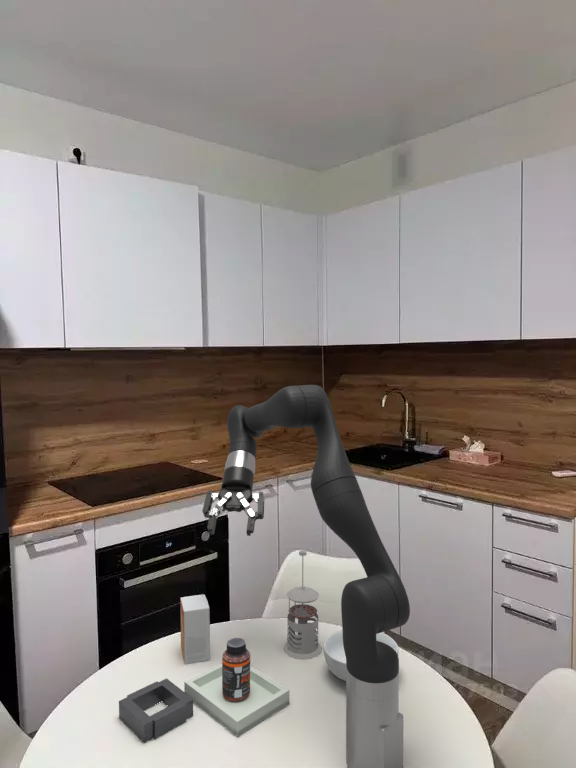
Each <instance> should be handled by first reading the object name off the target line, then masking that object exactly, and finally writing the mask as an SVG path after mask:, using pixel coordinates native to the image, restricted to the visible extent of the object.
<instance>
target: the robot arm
mask: <svg viewBox="0 0 576 768" xmlns="http://www.w3.org/2000/svg"><path fill="white" fill-rule="evenodd" d="M331 405H332V404H331V402H330V399H329V397H328V394H327V393H326V391H325V389H323V388H322V386H320V385H318V384H303V385H300V384H299V385H288V386H285V387H282V388H281V389H279V390H278V391H277V392H275V393H274V394H273V395H272V396H270V397H269V398H268V399H267V400H266V401H263V402H260V403H259V404H254V405H252V406H251V407H249V408H248V407H246V406H245V405H241V404H237V405H235V406H233V407H232V408H231V409H230V411H229V413H228V416H227V421H226V423H227V431H228V432H227V433H228V439H229V448H228V455H227V459H226V461H225V466H224V469H223V470H224V471H223V476H222V480H221V481H222V482H221V488H220V491H219V492H218V493H216V492H213V491H212V490H208V491H207V493H206V496H205V499H204V503H203V507H202V514H203V516H204V518H206V519H207V518H208V521H207V525H206V526H207V530H208V532H209V534H210V535H211V536H212V535H215V530H216V525H217V520H218V518H219V517H220V516H222V515H224V513H225V512H226V511H227V512H228V513H229V512H236V513H241V512H242V511H244V513H245V514H246V515H247V523H246V536H247V537H250V536H252V535H251V534H253V533H255V525H256V521H257V520H263V519H264V517H265V496H264V492H263V491H260V492H259V491H258V493H253V487H254V479H255V474H256V457H257V449H258V443H257V441H256V439H259V438H260V437H261V436H263V434H264V433H265V432H267V431H272V430H273V429H276V428H277V427H281V428H282V427H283V428H288V429H301V428H312V430H313V431H314V434H315V438H316V442H317V455H316V458H315V463H314V466H313V469H312V473H311V478H310V488H311V491H312V496H313V498H314V499H313V500H314V501H315V505H316V507H317V510H318V513H319V516H320V517H321V519H322V521H323V522H324V523H325V525H326V526H327V527H328V528H329V529H330V530H331V531H332V532H333V533H334V534H335V535H336V536H338V538H339V539H341V540H342V541H343V542H344V543H345V544H346V545H347V546H348V548H350V549H351V550H352V551H353V553H354V554H355V556H356V557H357V558H358V561H360V562H359V563H360V564H361V565H362V568H363V570H364V573H365V574H366V577H362V578H359V579H355V580H352V581H349V582H348V583H346V584H345V586H344V588H343V590H342V593H341V599H340V601H341V602H340V603H341V604H340V607H341V609H340V612H341V628H342V629H341V630H342V631H343V646H344V652H345V656H346V681H345V690H346V691H345V701H346V702H345V750H346V751H345V760H346V765H347V768H403V767H404V715H403V714H402V713H401V712H399V708H400V707H399V705H400V704H399V703H400V702H399V699H400V698H399V695H400V694H399V693H400V692H399V691H400V690H399V689H400V688H399V687H400V686H399V685H400V682H399V681H400V672H399V671H400V659H399V654H398V655H397V653H396V651H395V650H394V649H393V648H392V647H390V646H389V645H387V644H385V643H383V642H380V641H376V634H378V633H381V632H382V633H385V632H387V631H390V630H393V629H396V628H400V627H402V626H404V625H406V623H408V621H409V619H410V614H411V606H410V601H409V598H408V597H409V596H408V594H407V591H406V589H405V585H404V584H403V582H402V579H401V577H400V575H399V573H398V571H397V568H396V567H395V565H394V563H393V562H392V559H391V557H390V555H389V553H388V551H387V549H386V548H385V545H384V543H383V541H382V539H381V537H380V535H379V533H378V530H377V528H376V525H375V523H374V520H373V519H372V516H371V513H370V510H369V509H368V505H367V503H366V500H365V497H364V495H363V492H362V490H361V487H360V485H359V482H358V479H357V477H356V474H355V472H354V471H353V470H354V469H353V468H352V465H351V463H350V461H349V458H348V456H347V453H346V450H345V448H344V445H343V442H342V438H341V436H340V432H339V429H338V427H337V426H338V425H337V423H336V419H335V415H334V412H333V408H332V406H331ZM217 499H218V500H219V501H218V502H217V503H216V504H215V505H214V507H213V508H212V506H213V504H214V503H215V502H216V500H217ZM253 501H255V503H256V504H257V511H254V510H253V509H252V507H251V506H250V504H251V503H252V502H253Z"/></svg>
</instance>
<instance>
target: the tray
mask: <svg viewBox="0 0 576 768" xmlns="http://www.w3.org/2000/svg"><path fill="white" fill-rule="evenodd" d="M183 682H184V685H183V687H184V690H183V692H185V693H186V694H187V695H189V696H190V697H191V698H192V699H193V704H195V706H197V707H199V708H200V709H202V711H204V712H205V713H206V714H207V715H209V716H210V717H211V718H212V719H214V720H215V721H216V722H217V723H219V724H220V725H221V726H223V727H224V728H225V729H226V730H228V731H229V732H230V733H232V735H234V736H235V737H236V738H238V737H240V736H242V735H243V734H244V733H246V732H247V731H250V730H251V729H253V728H254V727H255V726H257V725H258V724H261V723H262V722H263V721H265V720H267V719H268V718H270V717H272V716H273V715H274V714H276V713H278V712H280V710H283V709H284V708H286V707H287V706H289V705H290V689H288V688H287V687H286V686H283V684H280V683H279V682H277V681H275V680H274V679H272V678H271V677H269V676H268V675H266V674H264V673H263V672H262V671H259V670H258V669H256V668H255V667H253V666H251V665H250V694H249V696H248V697H247V698H246V699H244V700H242V701H237V702H235V701H229V700H227V699H225V698H224V697H223V694H222V662H221V663H220V664H217V665H215V666H212V667H210V668H209V669H206V670H205V671H203V672H200V673H199V674H196V675H195V676H193V677H191V678H189V679H187V680H184V681H183Z"/></svg>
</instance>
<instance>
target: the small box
mask: <svg viewBox="0 0 576 768" xmlns="http://www.w3.org/2000/svg"><path fill="white" fill-rule="evenodd" d="M179 599H180V604H179V605H180V648H181V653H182V658H183V663H184V665H190V664H196V662H197V663H203V662H207V661H211V621H210V619H211V617H210V612H211V611H210V605H209V602H208V599H207V597H206V595H205V594H198V595H197V594H195V595H189V596H183V597H180V598H179Z"/></svg>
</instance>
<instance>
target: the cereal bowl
mask: <svg viewBox="0 0 576 768" xmlns="http://www.w3.org/2000/svg"><path fill="white" fill-rule="evenodd" d="M376 641H380V642H383V643H385V644H387V645H389V646H390V647H392V648H393V649H394V650H395V651H396V653H397V655H398V656H399V646H398V643H397V642H396V641H395V639H393V638H392V636H390V635H388V634H386V633H385V632H381V633H378V634H376ZM323 655H324V660H325V663H326V666H327V668H328V669H329V670H330V672H331V673H332V674H333V675H335V677H337V678H338V679H340V680H343V681H345V682H346V656H345V652H344V646H343V631H342V629H341V630H338V631H336V632H333V633H332V634H330V635H329V636H327V637H326V639H325V641H324V643H323Z"/></svg>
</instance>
